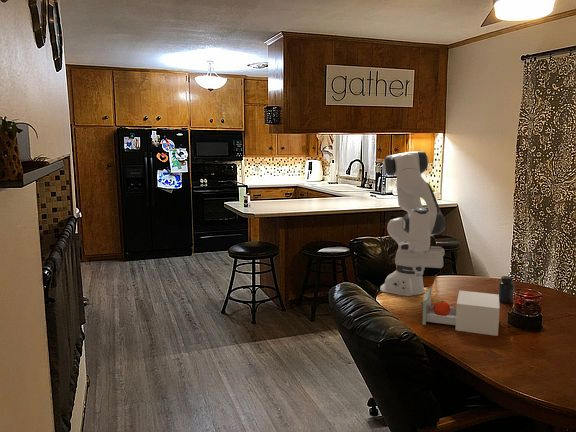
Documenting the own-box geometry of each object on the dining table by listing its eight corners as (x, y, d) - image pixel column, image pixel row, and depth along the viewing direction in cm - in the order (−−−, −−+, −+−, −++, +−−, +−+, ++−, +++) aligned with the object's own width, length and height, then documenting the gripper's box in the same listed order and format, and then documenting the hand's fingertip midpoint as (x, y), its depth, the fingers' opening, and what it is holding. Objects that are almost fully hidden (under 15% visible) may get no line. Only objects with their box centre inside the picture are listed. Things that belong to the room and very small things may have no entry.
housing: (455, 330, 194) (456, 303, 192) (458, 315, 210) (459, 290, 208) (497, 336, 187) (499, 308, 186) (497, 319, 204) (498, 294, 202)
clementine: (428, 316, 204) (428, 300, 203) (434, 311, 210) (435, 296, 209) (445, 320, 199) (446, 304, 198) (452, 315, 205) (452, 300, 203)
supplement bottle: (510, 299, 230) (511, 275, 228) (515, 303, 223) (517, 279, 221) (495, 298, 230) (497, 275, 228) (500, 303, 224) (502, 279, 222)
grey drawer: (418, 324, 199) (419, 299, 198) (424, 309, 216) (424, 287, 214) (458, 329, 193) (459, 304, 191) (460, 314, 209) (461, 291, 208)
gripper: (444, 245, 203) (443, 275, 205) (396, 242, 209) (395, 272, 212) (444, 248, 197) (443, 280, 199) (394, 245, 203) (394, 276, 206)
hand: (418, 276), depth 206 cm, fingers closed
